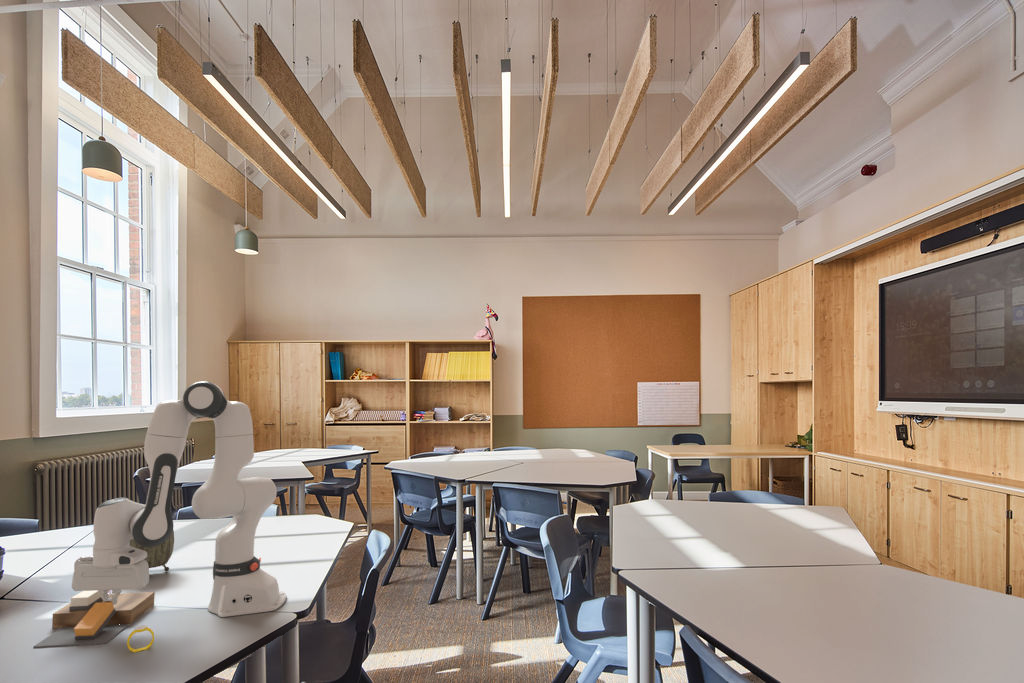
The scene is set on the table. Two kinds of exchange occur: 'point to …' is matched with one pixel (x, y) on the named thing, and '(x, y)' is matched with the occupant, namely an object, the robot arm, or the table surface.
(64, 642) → the mat
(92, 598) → the block
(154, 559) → the tabletop clock
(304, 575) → the table surface
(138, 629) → the watch
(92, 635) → the eraser orange
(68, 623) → the riser
